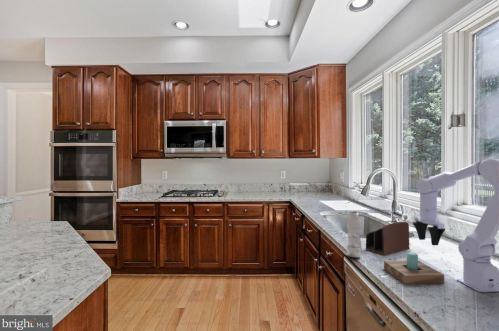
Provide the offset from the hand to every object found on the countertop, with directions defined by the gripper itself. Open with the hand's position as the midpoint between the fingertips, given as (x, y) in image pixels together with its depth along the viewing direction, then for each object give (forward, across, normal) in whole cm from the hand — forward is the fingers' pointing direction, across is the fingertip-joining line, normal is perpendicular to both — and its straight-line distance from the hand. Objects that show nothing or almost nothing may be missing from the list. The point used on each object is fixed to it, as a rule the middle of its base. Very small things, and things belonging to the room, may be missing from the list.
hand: (428, 242), depth 112 cm
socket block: (+10, +8, -12) cm, 17 cm away
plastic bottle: (+10, -13, -25) cm, 30 cm away
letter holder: (+10, -22, -4) cm, 25 cm away
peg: (+10, +8, -12) cm, 17 cm away
